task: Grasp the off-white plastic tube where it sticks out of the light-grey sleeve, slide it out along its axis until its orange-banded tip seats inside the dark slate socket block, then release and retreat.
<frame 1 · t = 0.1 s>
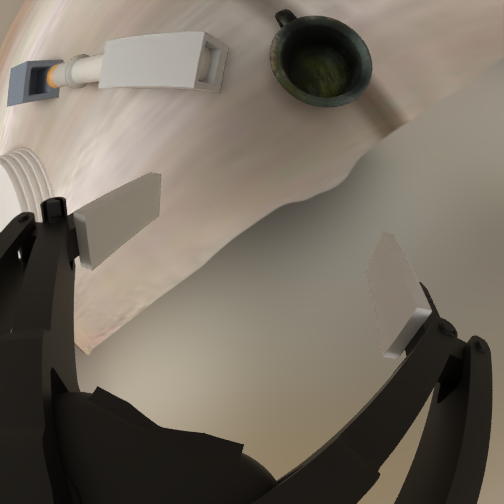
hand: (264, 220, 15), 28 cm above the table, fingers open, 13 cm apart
sleeve: (178, 67, 35), on the table
plate stack: (29, 195, 56), on the table
socket: (50, 80, 38), on the table
mug: (312, 65, 32), on the table
tube: (113, 66, 31), point 6 cm above the table, slide at 0.0 cm
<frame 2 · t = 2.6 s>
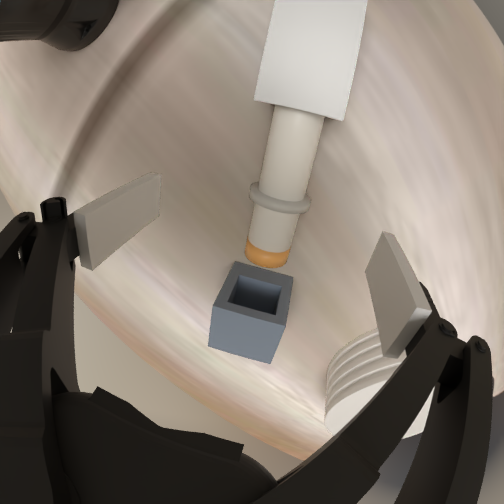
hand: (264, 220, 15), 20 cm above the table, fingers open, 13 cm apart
sleeve: (314, 52, 25), on the table
plate stack: (392, 368, 47), on the table
socket: (258, 289, 43), on the table
tube: (298, 119, 24), point 6 cm above the table, slide at 0.0 cm
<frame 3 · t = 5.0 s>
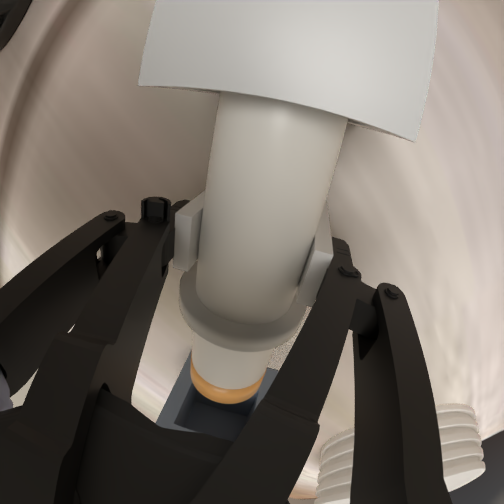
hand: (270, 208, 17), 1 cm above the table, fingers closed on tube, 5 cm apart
plate stack: (400, 442, 32), on the table
socket: (230, 378, 28), on the table
tube: (279, 127, 10), point 6 cm above the table, slide at 0.0 cm, touching gripper
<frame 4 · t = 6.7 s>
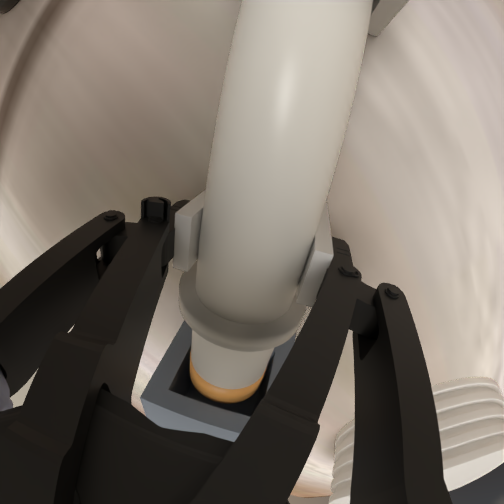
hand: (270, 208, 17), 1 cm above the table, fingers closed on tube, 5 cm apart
plate stack: (421, 427, 29), on the table
socket: (238, 344, 25), on the table
tube: (280, 127, 10), point 6 cm above the table, slide at 6.4 cm, touching gripper
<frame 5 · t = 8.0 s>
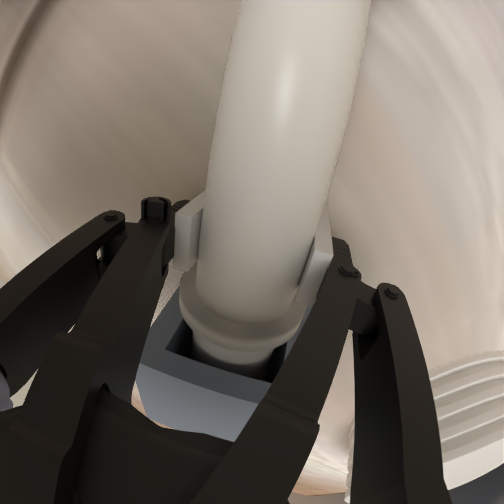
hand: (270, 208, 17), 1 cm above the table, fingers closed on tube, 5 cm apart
plate stack: (439, 412, 27), on the table
socket: (247, 311, 23), on the table
tube: (279, 127, 10), point 6 cm above the table, slide at 11.0 cm, touching gripper
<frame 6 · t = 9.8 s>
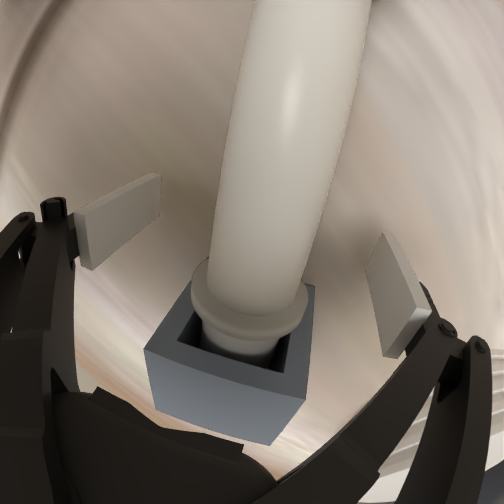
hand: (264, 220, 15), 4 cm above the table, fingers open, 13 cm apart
plate stack: (437, 410, 27), on the table
socket: (251, 308, 24), on the table
tube: (284, 138, 11), point 6 cm above the table, slide at 11.0 cm
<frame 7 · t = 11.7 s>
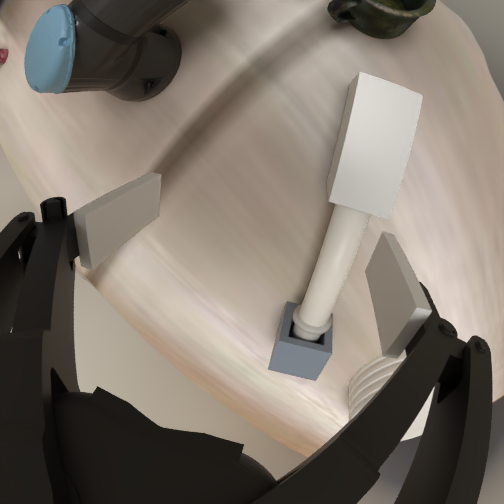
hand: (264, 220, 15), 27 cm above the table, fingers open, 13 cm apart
sleeve: (364, 141, 35), on the table
cup: (5, 55, 36), on the table
plate stack: (401, 381, 55), on the table
socket: (303, 322, 52), on the table
mug: (367, 16, 25), on the table
tube: (329, 276, 39), point 6 cm above the table, slide at 11.0 cm
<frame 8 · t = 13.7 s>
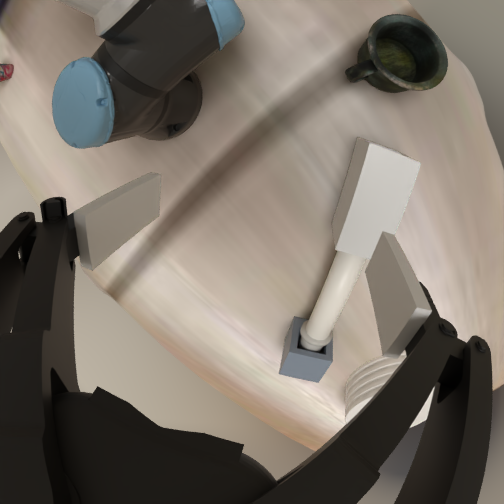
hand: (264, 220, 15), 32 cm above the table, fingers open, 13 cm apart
sleeve: (366, 188, 42), on the table
cup: (10, 70, 41), on the table
plate stack: (391, 380, 64), on the table
socket: (308, 333, 60), on the table
mug: (378, 68, 32), on the table
tube: (331, 301, 48), point 6 cm above the table, slide at 11.0 cm
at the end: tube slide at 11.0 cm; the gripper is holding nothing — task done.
